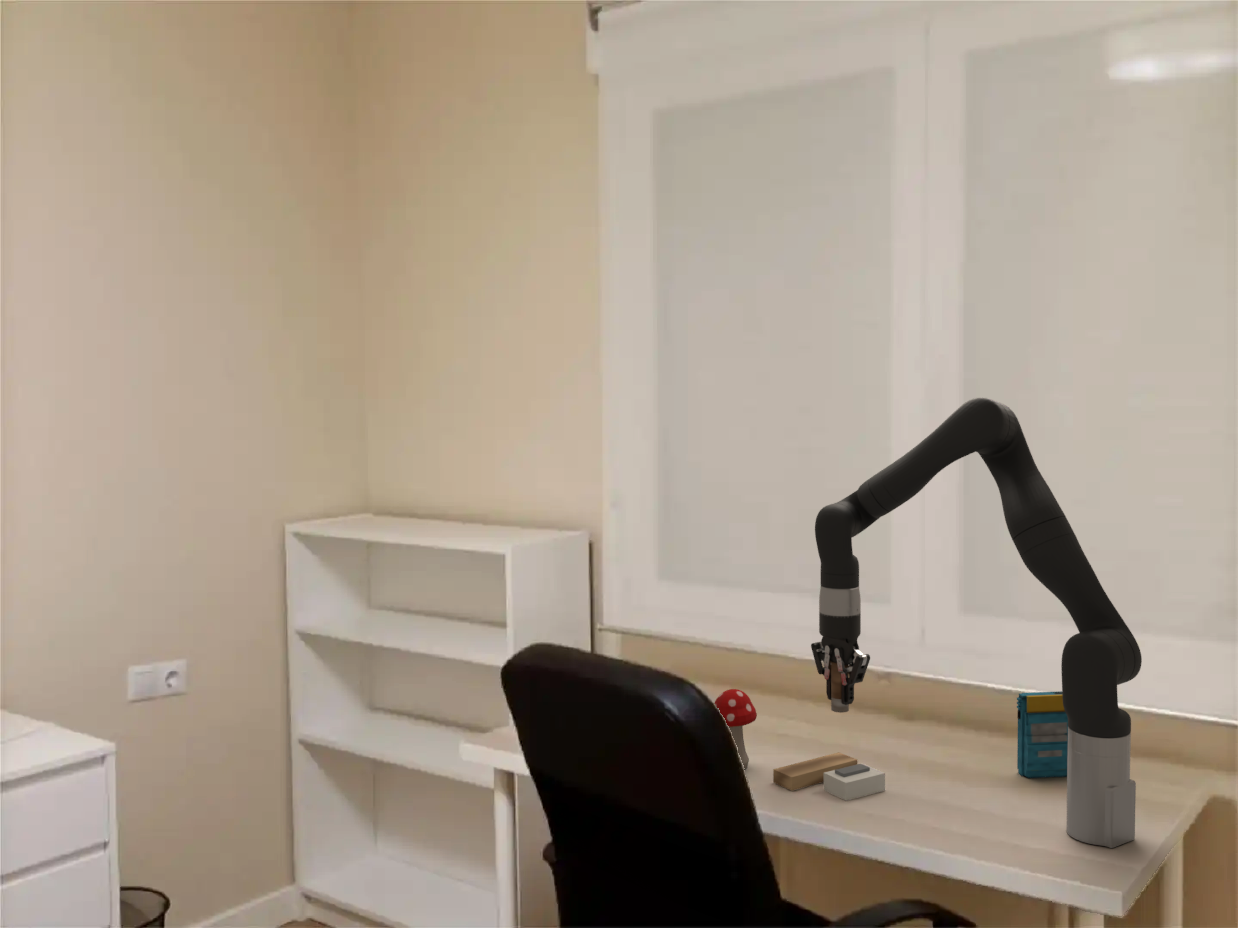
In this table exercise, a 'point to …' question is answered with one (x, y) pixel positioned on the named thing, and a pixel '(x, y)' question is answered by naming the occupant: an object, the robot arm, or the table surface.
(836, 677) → the brown cylinder
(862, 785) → the block
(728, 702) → the decorative mushroom
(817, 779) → the batten
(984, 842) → the table surface
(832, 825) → the table surface
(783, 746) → the table surface
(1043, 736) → the handheld gaming console
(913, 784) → the table surface
